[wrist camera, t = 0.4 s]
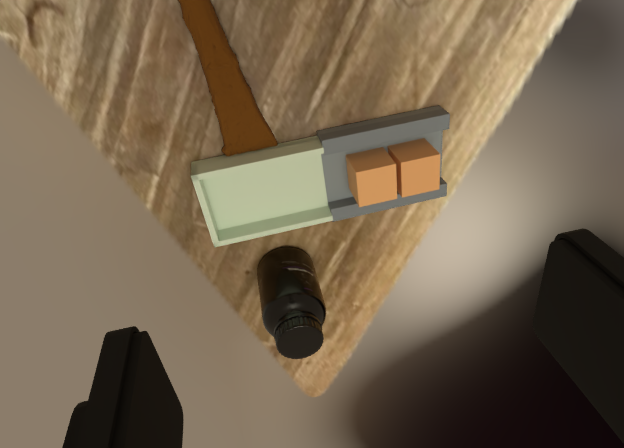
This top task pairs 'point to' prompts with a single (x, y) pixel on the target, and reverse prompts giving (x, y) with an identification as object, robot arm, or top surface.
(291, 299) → the supplement bottle
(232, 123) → the primitive tool
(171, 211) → the top surface
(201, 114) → the top surface
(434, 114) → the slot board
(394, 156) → the orange cube
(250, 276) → the top surface
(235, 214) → the tray
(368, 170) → the orange cube block
